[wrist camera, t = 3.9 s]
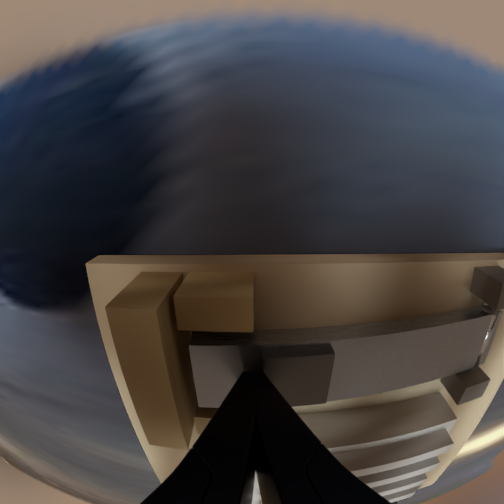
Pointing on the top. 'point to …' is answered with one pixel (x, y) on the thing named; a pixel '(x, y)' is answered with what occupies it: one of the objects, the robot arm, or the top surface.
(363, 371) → the strap
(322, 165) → the top surface
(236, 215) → the top surface
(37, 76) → the top surface
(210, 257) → the heatsink board
